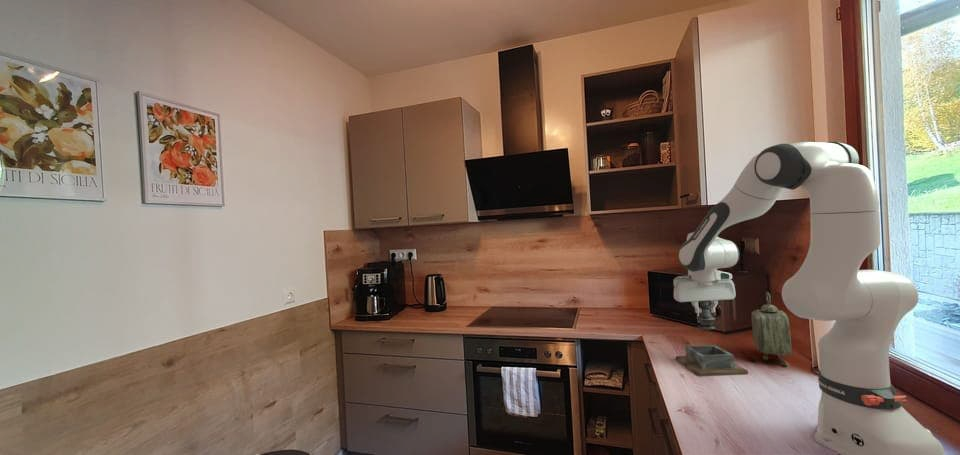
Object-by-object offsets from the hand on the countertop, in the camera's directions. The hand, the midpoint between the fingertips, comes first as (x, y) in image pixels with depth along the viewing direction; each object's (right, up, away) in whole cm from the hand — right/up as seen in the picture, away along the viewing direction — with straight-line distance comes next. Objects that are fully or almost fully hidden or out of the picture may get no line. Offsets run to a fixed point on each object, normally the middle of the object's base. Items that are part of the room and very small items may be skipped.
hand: (705, 312), depth 127 cm
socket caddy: (+1, -19, 0) cm, 19 cm away
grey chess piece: (0, -6, 0) cm, 6 cm away
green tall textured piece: (+25, -18, +1) cm, 31 cm away
